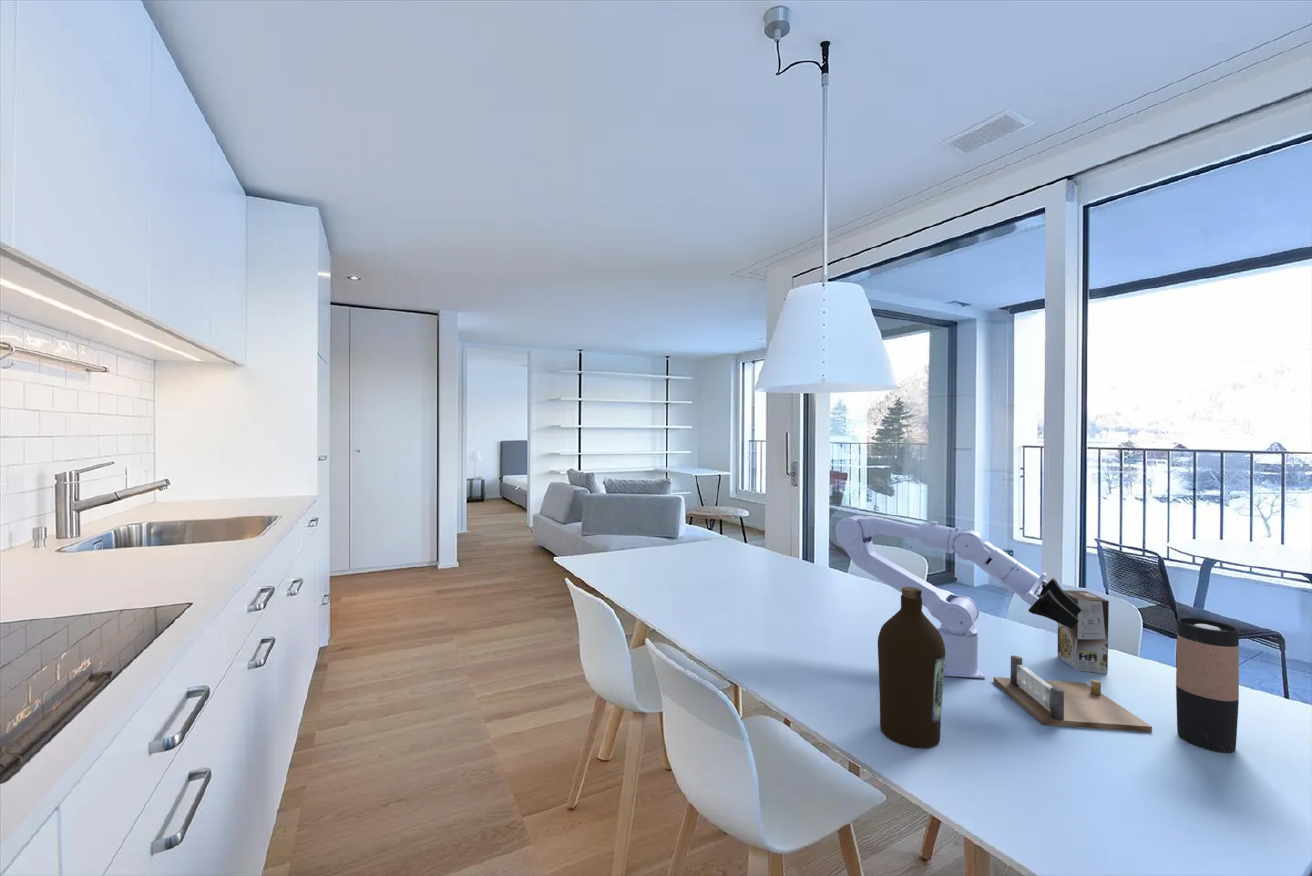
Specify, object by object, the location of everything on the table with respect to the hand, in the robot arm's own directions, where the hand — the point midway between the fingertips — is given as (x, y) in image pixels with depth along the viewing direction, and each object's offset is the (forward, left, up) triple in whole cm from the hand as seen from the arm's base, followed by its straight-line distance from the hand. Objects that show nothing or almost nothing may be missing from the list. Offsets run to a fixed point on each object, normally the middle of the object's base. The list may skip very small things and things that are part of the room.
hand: (1076, 619), depth 111 cm
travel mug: (+12, -14, -16) cm, 25 cm away
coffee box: (+12, +19, -16) cm, 28 cm away
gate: (-10, -4, -14) cm, 18 cm away
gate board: (-4, -3, -16) cm, 16 cm away
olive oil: (-38, -19, -16) cm, 45 cm away
